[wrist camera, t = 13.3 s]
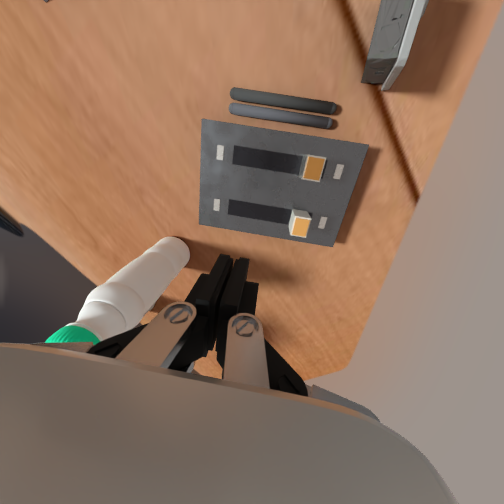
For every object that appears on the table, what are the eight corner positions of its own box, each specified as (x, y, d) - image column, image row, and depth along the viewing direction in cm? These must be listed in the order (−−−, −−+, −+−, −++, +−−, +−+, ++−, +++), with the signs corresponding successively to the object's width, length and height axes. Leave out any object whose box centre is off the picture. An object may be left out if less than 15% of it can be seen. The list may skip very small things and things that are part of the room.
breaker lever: (292, 208, 33) (295, 216, 29) (307, 211, 33) (311, 219, 29) (288, 226, 34) (290, 235, 30) (302, 228, 34) (306, 238, 30)
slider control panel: (207, 121, 31) (188, 112, 24) (360, 145, 31) (386, 142, 24) (204, 219, 39) (188, 233, 32) (328, 240, 38) (340, 259, 31)
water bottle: (183, 231, 40) (67, 328, 18) (196, 262, 43) (111, 378, 21) (152, 239, 42) (10, 337, 19) (167, 268, 44) (58, 383, 22)
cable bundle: (231, 88, 29) (229, 85, 28) (336, 104, 29) (339, 101, 28) (229, 114, 31) (227, 112, 30) (329, 129, 30) (331, 128, 29)
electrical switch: (386, 92, 28) (424, 65, 20) (347, 91, 29) (368, 64, 20) (415, -6, 24) (479, -93, 16) (369, -4, 25) (406, -87, 16)
